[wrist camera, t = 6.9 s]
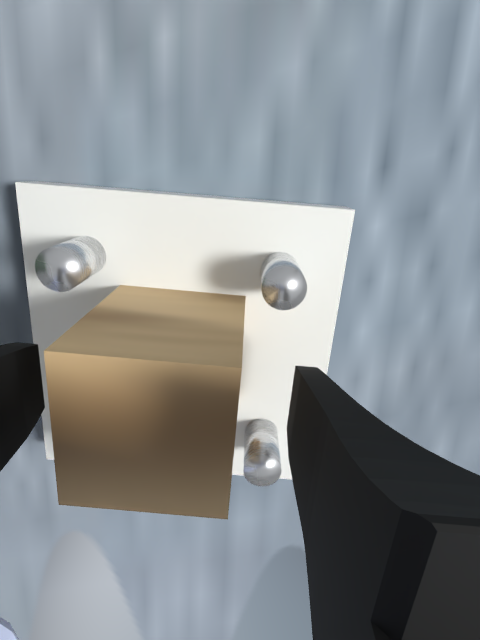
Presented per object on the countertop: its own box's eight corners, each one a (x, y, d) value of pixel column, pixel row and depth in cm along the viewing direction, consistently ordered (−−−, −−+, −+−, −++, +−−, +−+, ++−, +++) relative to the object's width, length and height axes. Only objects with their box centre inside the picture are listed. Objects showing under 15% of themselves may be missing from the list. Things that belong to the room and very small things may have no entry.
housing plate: (304, 459, 16) (316, 524, 13) (60, 439, 16) (17, 499, 13) (346, 206, 13) (374, 217, 10) (35, 181, 13) (-31, 183, 10)
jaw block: (236, 404, 14) (227, 519, 9) (122, 394, 14) (58, 504, 9) (245, 295, 13) (241, 368, 8) (120, 285, 13) (43, 350, 8)
